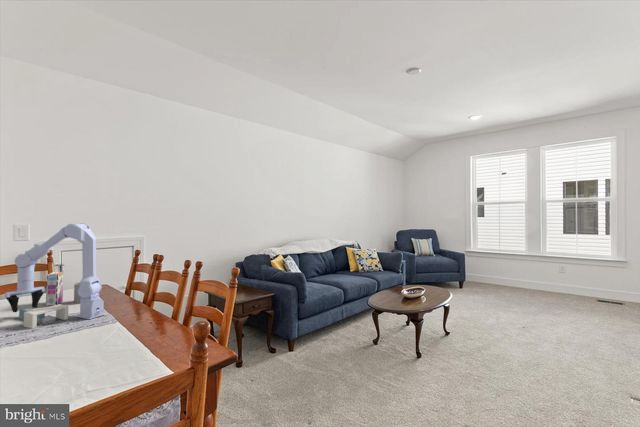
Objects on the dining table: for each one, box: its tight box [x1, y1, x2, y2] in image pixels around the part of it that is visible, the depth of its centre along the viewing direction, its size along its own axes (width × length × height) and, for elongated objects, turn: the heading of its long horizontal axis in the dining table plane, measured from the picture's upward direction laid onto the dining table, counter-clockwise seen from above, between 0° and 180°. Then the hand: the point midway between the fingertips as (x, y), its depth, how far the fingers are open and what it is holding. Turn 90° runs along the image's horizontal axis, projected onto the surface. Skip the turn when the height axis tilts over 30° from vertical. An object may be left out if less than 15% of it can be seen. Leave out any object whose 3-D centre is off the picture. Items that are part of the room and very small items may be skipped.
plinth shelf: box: [23, 303, 69, 329], centre depth 147 cm, size 6×14×6 cm, turn 159°
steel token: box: [37, 315, 57, 325], centre depth 147 cm, size 5×5×2 cm
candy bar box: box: [45, 271, 65, 307], centre depth 177 cm, size 11×5×16 cm, turn 25°
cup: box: [73, 282, 81, 305], centre depth 183 cm, size 8×8×10 cm
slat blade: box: [18, 307, 46, 319], centre depth 152 cm, size 15×2×4 cm, turn 69°
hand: (24, 309), depth 153 cm, fingers open, 7 cm apart
